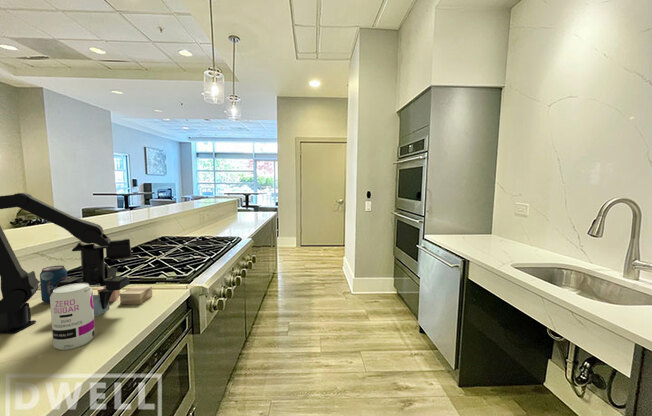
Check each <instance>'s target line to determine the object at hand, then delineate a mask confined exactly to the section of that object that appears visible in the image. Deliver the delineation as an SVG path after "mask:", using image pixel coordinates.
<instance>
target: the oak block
mask: <svg viewBox="0 0 652 416" xmlns="http://www.w3.org/2000/svg"><path fill="white" fill-rule="evenodd" d="M151 297H153V286H152V285H144V286H143V285H142V286H140V285H138V286H136V285H134V286H131V287H129V288H128V289H126V290H123V291H122V292H120V297H119V299H120V300H119V303H120V305H141V304H143V303H144V302H146V301H147V300H149V299H151Z"/></svg>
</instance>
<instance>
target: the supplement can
mask: <svg viewBox="0 0 652 416" xmlns="http://www.w3.org/2000/svg"><path fill="white" fill-rule="evenodd" d="M93 295H94V293H93V287H90V286H89V284H88V283H75V284H69V285H65V286H61V287H58V288H56V289H54V290H53V293H52V295H51V296H50V304H49V305H50V317H51V331H52V343H53V344H52V346H53V348H54V349H58V350H61V351H67V350H73V349H77V348H79V347H81V346H85V345H86V344H88V343H90V342H91V341H92V339H93V338H95V335H96V330H95V329H96V327H95V316H94V307H93Z"/></svg>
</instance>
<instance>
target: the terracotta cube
mask: <svg viewBox="0 0 652 416" xmlns="http://www.w3.org/2000/svg"><path fill="white" fill-rule="evenodd" d="M103 288H104V287H103V286H101V287H98V288H97V295H99V292H100V291H102V290H103ZM120 290H121V289H120ZM120 290H114V291H113V293H112V295H111V297H110V299H109V303H110V302H116V301H117V300H118V299H120V297H119V296H120V293H121V291H120Z"/></svg>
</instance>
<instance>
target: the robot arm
mask: <svg viewBox="0 0 652 416" xmlns="http://www.w3.org/2000/svg"><path fill="white" fill-rule="evenodd" d="M11 208H19V209H22V210H24V211H25V212H28V213H30V214H32V215H35V217H38V218H40V219H43V220H46V221H47V222H50V223H51V224H54V225H56V226H59V227H60V228H62V229H64V230H65V231H67V232H68V233H69V234H71V235H72V236H73V237H75V238H76V239H77V240H79V242H78V243H77V244H76V246H74V247H73V248H72V249H71V252H80V263H81V264H80V266H81V267H79V268H78V272H81V276H80V277H69V278H68V277H67V279H66V280H63V281H61V282H59V283H58V284H57V286H56V288H58V287H61V286H65V285H69V284H75V283H88V284H89V286H90V287H91V288H93V287H98V288H100V287H101V286H103V287H104V288H103V290H102V291H100V292H99V296H100V301H101V306H102V308H103V310H104V309H106V308H107V305H108V302H109V299H110V297H111V295H112V293H113V291H114V290H122V289H124V288H126V287H127V286H129V285H130V282H131V281H130V278H129V277H128V276H117V273H118V267H113V266H112V267H110V266H109V264H108V263H107V262H105V258H106V259H108V260H110V261H112V262H113V261H119V260H128V259H132V246H131V241H130V240H131V239H130V238H124V239H116V240H115V239H114V240H113V239H112V240H111V238H110V237H108V236H107V235H106V234H105V233H104V230H103V229H104V228H103V227H102V226H101V225H100V224H98V223H95V222H91V221H88V220H85V219H81V218H78V217H74V216H73V215H70V214H68V213H66V212H65V211H62V210H60V209H58V208H56V207H54V206H52V205H50V204H47V203H46V202H44V201H42V200H40V199H37V198H35V197H34V196H32V194H29V193H27V192H19V193H18V192H17V193H14V194H8V195H0V210H5V209H11ZM104 249H105V250H104ZM105 256H106V257H105ZM111 277H112V279H111ZM39 284H40V280H39V279H38V278H37V276H36V272H35V271H34V270H33V271H30V272H28V271H25V269H24V268H22V265H21V264H20V262H19V260H18V258H17V256H16V254H15V251H14V250H13V247H12V245H11V244H10V242H9V240H8V238H7V236H6V234H5V231H4V230H3V228H2V226H1V225H0V291H1V296H2V297H1V299H0V334H15V333H19V332H20V331H22V330H24V329H25V328H28V327H29V326H32V325H33V324H36V322H37V320H33V319H32V315H31V307H30V303H29V302H28V301H29V300H31V298H32V297H33V296H34V295H35V294H36V293H37V292H38V289H39ZM109 303H110V302H109Z"/></svg>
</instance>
